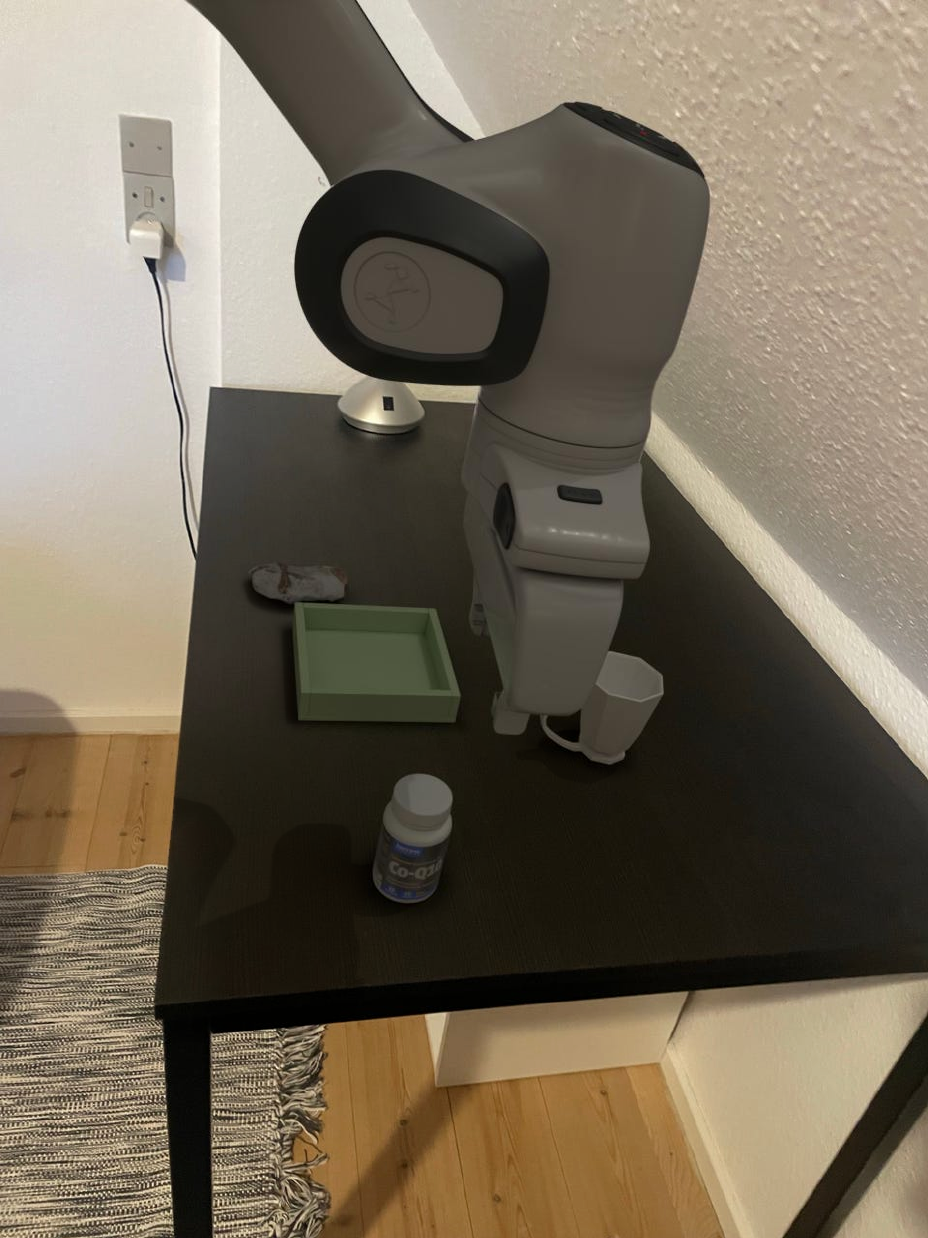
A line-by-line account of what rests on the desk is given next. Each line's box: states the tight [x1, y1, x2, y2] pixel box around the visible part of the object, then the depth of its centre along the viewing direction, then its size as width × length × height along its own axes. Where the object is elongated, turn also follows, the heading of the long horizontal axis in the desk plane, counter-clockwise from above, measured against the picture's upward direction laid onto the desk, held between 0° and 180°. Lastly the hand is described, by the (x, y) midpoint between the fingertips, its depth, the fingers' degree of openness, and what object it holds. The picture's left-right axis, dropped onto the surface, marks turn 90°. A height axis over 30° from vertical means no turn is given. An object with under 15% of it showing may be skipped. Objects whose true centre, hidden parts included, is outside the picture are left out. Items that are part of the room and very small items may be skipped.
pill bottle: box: [372, 773, 453, 904], centre depth 65 cm, size 5×5×8 cm
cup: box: [539, 650, 664, 766], centre depth 81 cm, size 7×10×8 cm
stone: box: [248, 561, 349, 605], centre depth 95 cm, size 10×7×3 cm
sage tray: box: [291, 602, 462, 723], centre depth 86 cm, size 14×14×3 cm
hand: (493, 674), depth 56 cm, fingers open, 8 cm apart
